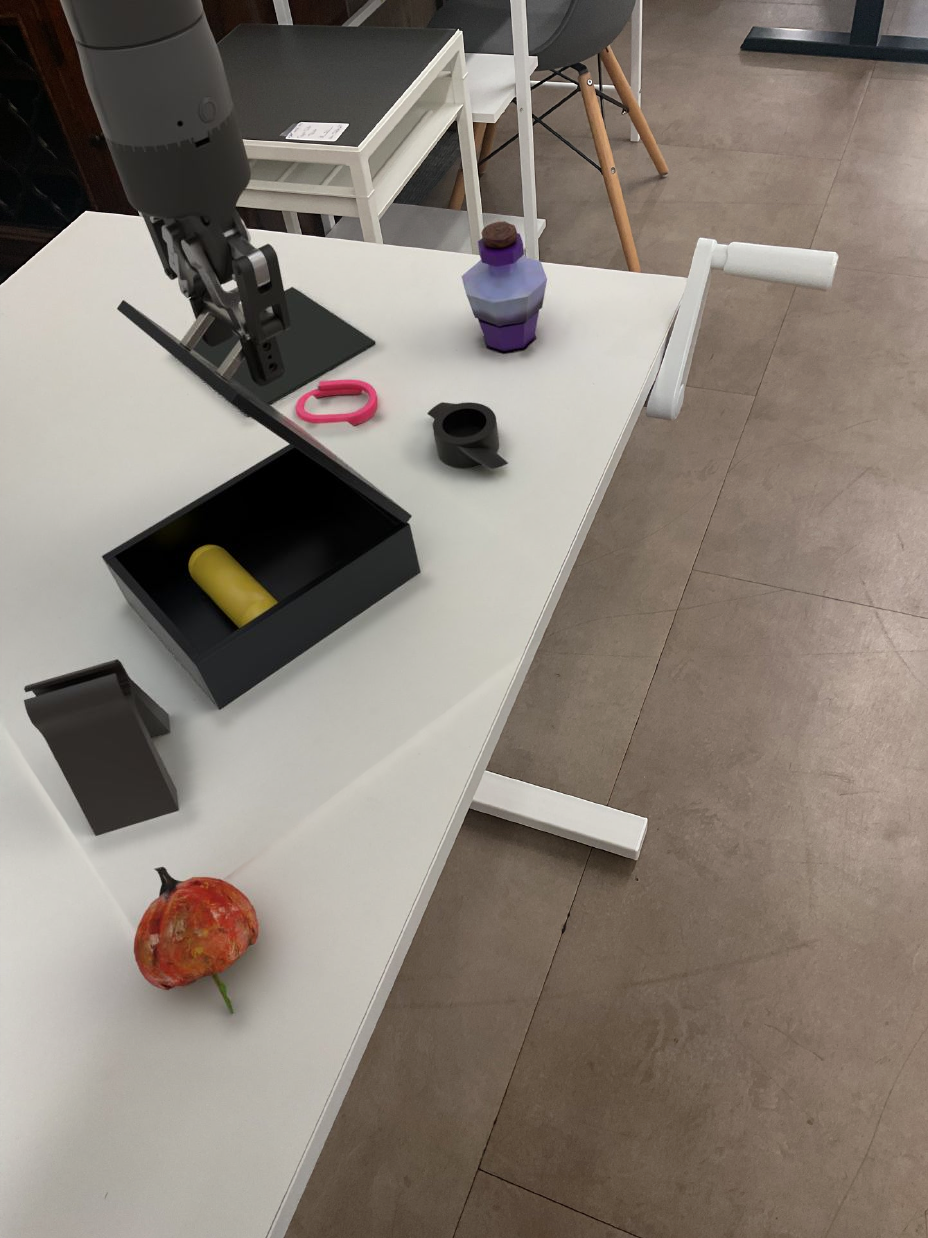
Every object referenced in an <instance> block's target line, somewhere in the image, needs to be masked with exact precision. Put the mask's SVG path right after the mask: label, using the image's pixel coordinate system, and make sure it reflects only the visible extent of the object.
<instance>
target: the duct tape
mask: <svg viewBox="0 0 928 1238" xmlns="http://www.w3.org/2000/svg"><path fill="white" fill-rule="evenodd" d="M426 415H428V416H429V417H431V418H433V421H432V431H433V436H434V443H435V448H436V453H437V456H438V458H439V460H440V461H441V462H442V463H444V464H445V465H446V466H448V467H451V468H456V469H473V468H477V467H480V466H483V467H485V468H488V469H489V470H495V469H498V468H501V467H503V466H506V465H508V464H509V462H508V461H507V460H505V458H503V457H502V456H501V455H500V454H499V453H498V452H499V449H500V438H499V432H498V422H497V417H496V413H495V411H493V410H492V409H491V408H490V407H489V406H487V405H485V404H482V403H479V402H467V401H466V402H458V403H451V402H439V403H437V404H436V405H434V406H433V407H431V408H430V410H429V411H428V412H427V413H426Z"/></svg>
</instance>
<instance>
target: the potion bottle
mask: <svg viewBox="0 0 928 1238" xmlns="http://www.w3.org/2000/svg"><path fill="white" fill-rule="evenodd" d="M477 246H478V254H479V257H480V260H479V261H477V263H475V264H474V265H473V266H472V267H470V268H469V269H468V270H467V271H466V272H464V273H463V274H462V275H461V276H460V277H461V280H462V284H463V287H464V288H463V289H464V291H465V295H466V298H467V301H468V303H469V306H470V308H471V311H472V314H473V316H474V319H477V322H478V324H479V327H480V329H481V333H482V335H483V336H482V337H483V341H484V344H485V348H486V349H487V350H490V351H493V352H497V353H499V354H503V355H506V354H510V353H511V354H512V353H517V352H521V351H526V350H527V349H528V347H530V346H531V345H532V344H533V343H534V342H535V341H536V340H537V335H536V331H537V324H538V318H539V313H540V310H541V309H543V305H544V300H545V294H546V288H547V282H548V277H547V274H546V272H545V269H544V267H543V264H542V262H541V260H537V259H534V258H530V257H526V256H524V255H525V251H524V241H523V239H522V237H521V233H519V232H517V227H516V226H515V224H511V223H509V222H507V221H496V222H492V223H490V224H487V225H486V226H484V227H483V228H482V230H481V238H480V239H479V240H478V241H477Z"/></svg>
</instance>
